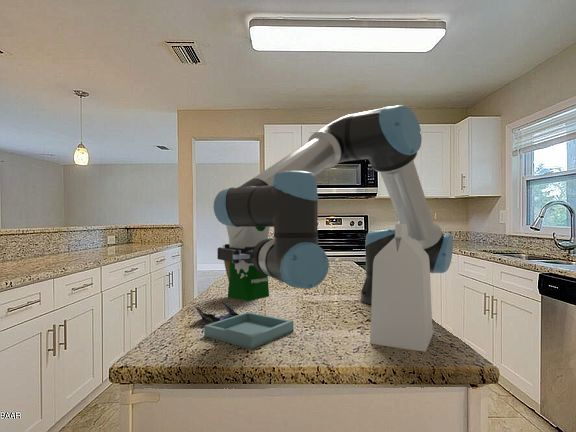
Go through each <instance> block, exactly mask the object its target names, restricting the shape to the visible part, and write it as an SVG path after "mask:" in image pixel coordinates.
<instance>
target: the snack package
mask: <svg viewBox="0 0 576 432" xmlns="http://www.w3.org/2000/svg"><path fill="white" fill-rule="evenodd" d="M218 302H219V303H220V302H221V304H223V305H224V309H225V310H226V312H227V313H226V314H225V313H224V314H220V315H218V316H216V313H205V312H204V311H202V309H201V308H199V307H197V306H196V307H195V308H196V311H197V313H198V316H199V317H200V318H201V319H202V320H207V321H209V322H210V323H214V322H217V321H220V320H224V319H227V318H230V317H233V316H237V315H240V314H241V313H240V314H239V313H238V312H235V310H234V309H233V308H232V306H231V305H229V304H228V303H226V302H225V301H224V300H221V301H220V300H219V301H218ZM210 310H213V309H212V308H210Z"/></svg>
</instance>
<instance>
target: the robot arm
mask: <svg viewBox="0 0 576 432" xmlns="http://www.w3.org/2000/svg"><path fill="white" fill-rule="evenodd" d="M421 132H422V129H421V125H420V123H419V120H418V117H417V116H416V114H415V112H414V111H413V110H412V109H411V108H409V107H408V106H406V105H400V104H399V105H393V106H392V105H387V106H384V107H382V108H377V109H372V110H367V111H362V112H361V111H360V112H357V113H350V114H347V115H345V116H342V117H339V118H338V119H335V120H334V121H332V122H330V123H328V124H327V125H325V126H324V127H322V128H320V129H318V130H317V131H315V132H314V133H313V134H311V135H310V136H309V138H308V141H307V142H306V143H304V144H303V145H302V146H300V147H299V148H297V149H295V150H294V151H293V152H291V153H289V154H288V155H286V156H285V157H282V159H280V160H279V161H277V162H275V163H274V164H272V165H271V166H269V167H268V168H266V169H265V170H263V171H262V172H260V173H259V174H258V175H256V176H254V177H253V178H251V179H249V180H247V181H246V182H244V183H243V184H242V185H240V186H238V187H229V188H225V189H222V190H221V191H219V192H218V193H217V194H216V196H215V198H214V199H213V200H214V201H213V212H214V213H213V214H215V217H216V219H217V221H218V222H220V223H221V224H222V225H224V226H226V225H227V226H235V227H270V228H273V237H274V238H271V237H268V238H267V239H264V240H262V241H260V242H259V243H258V244H257V245H256V246H254V247H245V248H232V246H229V243H224V244H222V246H221V247H220V246H219V247H218V248H217V260H220V261H224V260H225V261H230V262H233V263H235V264H237V263H239V262H241V260H244V261H245V263H252V264H253V265H254V267H255V268H256V269H257V271H259V272H260V273H262V274H264V275H266V276H268V278H269V277H270V278H272V279H275V280H277V281H278V282H279V283H281V284H282V283H285V284H286V285H288V286H289V287H292V288H297V289H303V290H311V289H313V288H316V287H317V286H319V285H321V283H323V282H324V280H325V279H326V277H327V275H328V273H329V268H330V264H329V263H330V261H329V259H328V256H327V254H326V253H327V252H326V251H325V250H324V249H323V248H322V247H320V246H319V235H318V233H319V232H318V231H319V227H318V220H319V219H318V217H319V216H318V215H319V214H318V213H319V212H318V211H319V207H318V206H319V195H318V182H317V181H318V180H317V177H316V176H317V175H318V174H320V173H321V172H322V171H324V170H325V169H330V168H334V167H335V166H337V165H338V164H341V163H343V162H349V161H350V162H351V161H359V160H368V162H369V164H370V166H371V168H372V170H373V171H375V172H378V173H380V175H381V177H382V181H383V182H384V185H385V188H386V190H387V194H388V196H389V198H390V201H391V204H392V207H393V209H394V212H395V214H396V217H397V219H398V222H399V224H407V230H408V236H410V237H411V238H412V239H413V238H414V239H416V240H417V241H418V242H419V243H420V244H421V245H422V248H423V249H424V250H425V252H426V253H427V254H428V256H429V263H430V274H444V273H446V272H447V271H448V270H449V268H450V265H451V263H452V258H453V248H454V242H453V241H454V240H453V236H452V235H451V234H450V233H443V231H442V229H441V227H440V225H439V224H437V223H436V222H434V221H433V218H432V215H431V212H430V209H429V205H428V202H427V200H426V196H425V193H424V190H423V187H422V183H421V181H420V178H419V174H418V171H417V168H416V163H415V161H414V160H416V157H417V155H418V151H419V150H420V149H421V146H422V145H421V144H422V138H423V137H422V134H421ZM394 237H395V228H391V229H383V230H374V231H370V232H367V234H366V236H365V244H364V247H365V278H364V282H363V286H362V289H361V291H360V301H361V302H363V303H365V304H368V305H372V279H373V261H374V258H375V256H376V255H377V254H378V253H379V252H380V251H381V250H382V249H383V248H384V247H385V246H386V245H387V244H388V243H389V242H390V241H391V240H392V239H393V238H394Z"/></svg>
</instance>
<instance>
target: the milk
mask: <svg viewBox="0 0 576 432" xmlns="http://www.w3.org/2000/svg"><path fill="white" fill-rule="evenodd" d="M394 229H395V237H394V238H393V239H392V240H391V241H390V242H389V243H388V244H387V245H386V246H385V247H384V248H383V249H382V250H381V251H380V252H379V253H378V254H377V255H376V256H375V258H374V261H373V279H372V304H370V305H371V308H370V309H371V310H370V312H371V313H370V335H369V344H371V345H377V346H378V345H379V346H384V347H385V346H386V347H390V348H391V347H392V348H398V349H405V350H412V351H418V352H419V351H420V352H423V353H424V352H427V350H428V348H429V345H430V342H431V340H432V337H433V335H434V332H433V331H434V329H433V312H432V311H433V309H432V307H433V306H432V291H431V290H432V289H431V287H432V286H431V273H430V263H429V256H428V254H427V253H426V252H425V250H424V249H423V248H422V245H421V244H420V243H419V242H418V241H417V240H416V239H414V238H413V239H412V238H411V237H410V236H408V230H407V224H400V223H395V226H394Z"/></svg>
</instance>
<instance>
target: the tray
mask: <svg viewBox="0 0 576 432" xmlns="http://www.w3.org/2000/svg"><path fill="white" fill-rule="evenodd" d="M203 329H204V333H203V334H204V335H203V336H204V337H206V338H210V339H214V340H217V341H221V342H225V343H228V344H231V345H235V346H240V347H242V348H247V349H248V350H249V349H250V350H253V349H256V348H257V347H259V346H262V345H265V344H267V343H269V342H272V341H274V340H277V339H279V338H281V337H284V336H286V335H288V334H290V332H291V333H293V332H294V320H291V319H285V318H281V317H276V316H275V317H274V316H270V315H266V314H261V313H255V312H251V311H247V312H244V313H240V315H237V316H233V317H230V318H227V319H224V320H220V321H217V322H214V323H212V322H210V323H208V324H205V325H204V326H203ZM292 331H293V332H292ZM285 334H286V335H285ZM283 335H284V336H283Z"/></svg>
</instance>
